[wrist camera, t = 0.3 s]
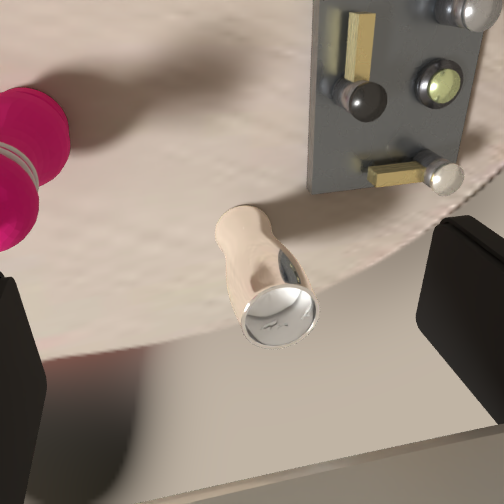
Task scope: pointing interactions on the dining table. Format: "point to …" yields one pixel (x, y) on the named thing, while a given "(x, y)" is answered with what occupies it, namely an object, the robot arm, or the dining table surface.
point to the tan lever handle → (360, 72)
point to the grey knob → (468, 13)
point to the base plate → (387, 90)
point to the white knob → (420, 173)
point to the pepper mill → (27, 157)
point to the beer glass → (264, 281)
